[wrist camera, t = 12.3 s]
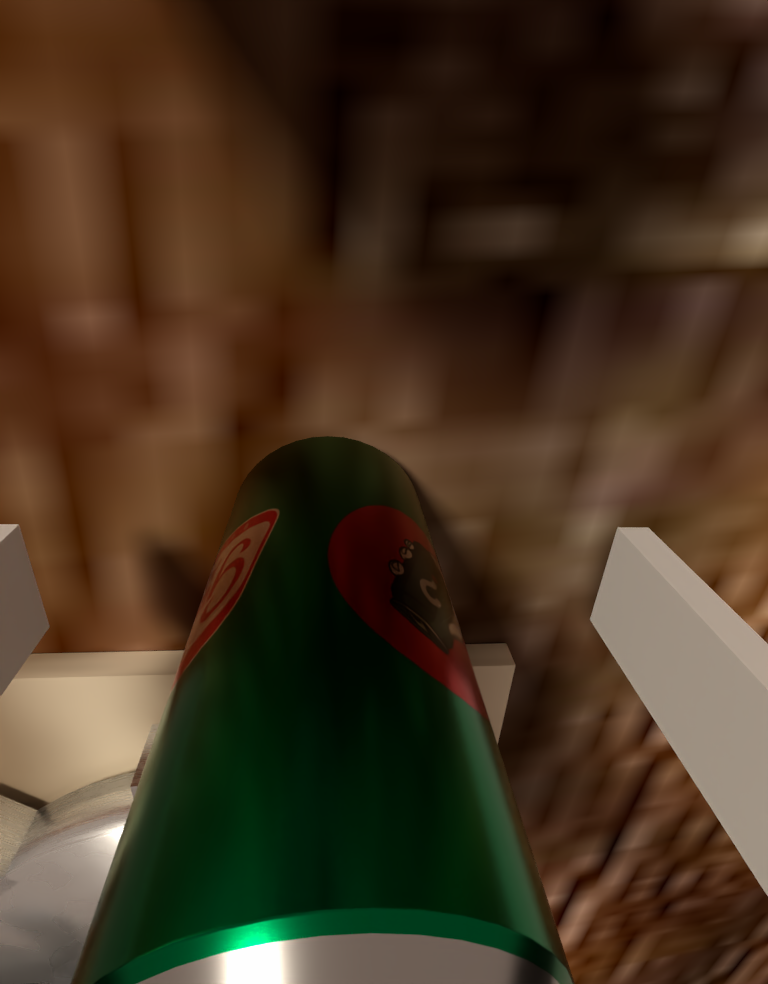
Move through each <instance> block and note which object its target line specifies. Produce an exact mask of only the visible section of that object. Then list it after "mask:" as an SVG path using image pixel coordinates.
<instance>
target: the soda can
mask: <svg viewBox="0 0 768 984" xmlns="http://www.w3.org/2000/svg"><path fill="white" fill-rule="evenodd" d="M70 984H574V981H573V977H572V974H571V971H570V968H569V965H568V962H567V959H566V956H565V953H564V949H563V946H562V943H561V940H560V937H559V934H558V931H557V928H556V925H555V921H554V918H553V915H552V912H551V909H550V906H549V903H548V900H547V897H546V893H545V890H544V887H543V884H542V881H541V878H540V875H539V872H538V869H537V866H536V862H535V859H534V856H533V853H532V850H531V847H530V844H529V841H528V838H527V834H526V831H525V828H524V825H523V822H522V819H521V816H520V813H519V810H518V806H517V803H516V800H515V797H514V794H513V791H512V788H511V785H510V782H509V778H508V775H507V772H506V769H505V766H504V763H503V760H502V757H501V754H500V751H499V747H498V744H497V741H496V738H495V735H494V732H493V729H492V726H491V723H490V719H489V716H488V713H487V710H486V707H485V704H484V701H483V698H482V695H481V691H480V688H479V685H478V682H477V679H476V676H475V673H474V670H473V667H472V663H471V660H470V657H469V654H468V651H467V648H466V645H465V642H464V639H463V635H462V632H461V629H460V626H459V623H458V620H457V617H456V614H455V611H454V608H453V604H452V601H451V598H450V595H449V592H448V589H447V586H446V583H445V580H444V576H443V573H442V570H441V567H440V564H439V561H438V558H437V555H436V552H435V548H434V545H433V542H432V539H431V536H430V533H429V530H428V527H427V524H426V520H425V517H424V514H423V511H422V508H421V505H420V502H419V499H418V496H417V493H416V491H415V488H414V486H413V484H412V482H411V481H410V479H409V477H408V476H407V474H406V473H405V472H404V471H403V469H402V468H401V467H400V466H399V465H398V464H397V463H396V462H395V461H394V460H393V459H391V458H390V457H389V456H388V455H386V454H385V453H383V452H381V451H380V450H378V449H376V448H375V447H373V446H370V445H368V444H365V443H363V442H360V441H356V440H352V439H348V438H343V437H329V436H326V437H313V438H308V439H303V440H299V441H295V442H293V443H290V444H288V445H285V446H282V447H281V448H279V449H277V450H275V451H274V452H272V453H270V454H269V455H267V456H266V457H265V458H264V459H263V460H261V461H260V462H259V463H258V464H257V465H256V466H255V467H254V468H253V469H252V471H251V472H250V473H249V474H248V475H247V477H246V479H245V480H244V482H243V484H242V485H241V487H240V490H239V493H238V495H237V498H236V501H235V504H234V507H233V510H232V512H231V515H230V518H229V521H228V524H227V527H226V530H225V533H224V536H223V539H222V542H221V545H220V548H219V550H218V553H217V556H216V559H215V562H214V565H213V568H212V571H211V574H210V577H209V580H208V583H207V585H206V588H205V591H204V594H203V597H202V600H201V603H200V606H199V609H198V612H197V615H196V618H195V621H194V623H193V626H192V629H191V632H190V635H189V638H188V641H187V644H186V647H185V650H184V653H183V656H182V658H181V661H180V664H179V667H178V670H177V673H176V676H175V679H174V682H173V685H172V688H171V691H170V694H169V696H168V699H167V702H166V705H165V708H164V711H163V714H162V717H161V720H160V723H159V726H158V729H157V731H156V734H155V737H154V740H153V743H152V746H151V749H150V752H149V755H148V758H147V761H146V764H145V767H144V769H143V772H142V775H141V778H140V781H139V784H138V787H137V790H136V793H135V796H134V799H133V802H132V804H131V807H130V810H129V813H128V816H127V819H126V822H125V825H124V828H123V831H122V834H121V837H120V840H119V842H118V845H117V848H116V851H115V854H114V857H113V860H112V863H111V866H110V869H109V872H108V875H107V878H106V880H105V883H104V886H103V889H102V892H101V895H100V898H99V901H98V904H97V907H96V910H95V913H94V915H93V918H92V921H91V924H90V927H89V930H88V933H87V936H86V939H85V942H84V945H83V948H82V951H81V953H80V956H79V959H78V962H77V965H76V968H75V971H74V974H73V977H72V980H71V983H70Z"/></svg>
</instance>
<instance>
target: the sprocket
mask: <svg viewBox="0 0 768 984" xmlns="http://www.w3.org/2000/svg"><path fill="white" fill-rule="evenodd" d="M158 726H159V724H152V726H151V729H150V732H149V735H148V738H147V740H146V743H145V746H144V749H143V752H142V754H141V757H140V760H139V763H138V766H137V768H136V771H135V772H132V773H127V774H123V775H119V776H116V777H113V778H109V779H106V780H102V781H99V782H96V783H93V784H90V785H88V786H85V787H83V788H80V789H78V790H76V791H73V792H71V793H68V794H66V795H64V796H62V797H60V798H58V799H56V800H55V801H53V802H51V803H49V804H47V805H46V806H44V807H42V808H40V809H39V810H36V809H33V808H31V807H28V806H26V805H23V804H21V803H19V802H16V801H14V800H11V799H9V798H6V797H4V796H2V795H0V984H70V983H71V980H72V977H73V974H74V971H75V968H76V965H77V962H78V959H79V956H80V953H81V951H82V948H83V945H84V942H85V939H86V936H87V933H88V930H89V927H90V924H91V921H92V918H93V915H94V913H95V910H96V907H97V904H98V901H99V898H100V895H101V892H102V889H103V886H104V883H105V880H106V878H107V875H108V872H109V869H110V866H111V863H112V860H113V857H114V854H115V851H116V848H117V845H118V842H119V840H120V837H121V834H122V831H123V828H124V825H125V822H126V819H127V816H128V813H129V810H130V807H131V804H132V802H133V799H134V796H135V793H136V790H137V787H138V784H139V781H140V778H141V775H142V772H143V769H144V767H145V764H146V761H147V758H148V755H149V752H150V749H151V746H152V743H153V740H154V737H155V734H156V731H157V729H158Z"/></svg>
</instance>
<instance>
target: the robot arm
mask: <svg viewBox="0 0 768 984" xmlns="http://www.w3.org/2000/svg"><path fill="white" fill-rule="evenodd" d="M590 621H591V622H592V624H593V625H594V627H595V628H596V630H597V631H598V633H599V635H600V636H601V638H602V639H603V641H604V642H605V644H606V645H607V647H608V649H609V650H610V652H611V653H612V655H613V656H614V658H615V660H616V661H617V663H618V664H619V666H620V667H621V669H622V670H623V672H624V674H625V675H626V677H627V678H628V680H629V681H630V683H631V684H632V686H633V688H634V689H635V691H636V692H637V694H638V695H639V697H640V698H641V700H642V702H643V703H644V705H645V706H646V708H647V709H648V711H649V712H650V714H651V716H652V717H653V719H654V720H655V722H656V723H657V725H658V726H659V728H660V730H661V731H662V733H663V734H664V736H665V737H666V739H667V740H668V742H669V744H670V745H671V747H672V748H673V750H674V751H675V753H676V754H677V756H678V758H679V759H680V761H681V762H682V764H683V765H684V767H685V768H686V770H687V772H688V773H689V775H690V776H691V778H692V779H693V781H694V782H695V784H696V786H697V787H698V789H699V790H700V792H701V793H702V795H703V797H704V798H705V800H706V801H707V803H708V804H709V806H710V807H711V809H712V811H713V812H714V814H715V815H716V817H717V818H718V820H719V821H720V823H721V825H722V826H723V828H724V829H725V831H726V832H727V834H728V835H729V837H730V839H731V840H732V842H733V843H734V845H735V846H736V848H737V849H738V851H739V853H740V854H741V856H742V857H743V859H744V860H745V862H746V863H747V865H748V867H749V868H750V870H751V871H752V873H753V874H754V876H755V877H756V879H757V881H758V882H759V884H760V885H761V887H762V888H763V890H764V891H765V893H766V895H767V896H768V644H767V643H766V642H765V641H764V640H763V639H762V638H761V637H760V636H759V635H758V634H757V633H756V632H755V631H754V630H753V629H752V628H751V627H750V626H749V625H748V624H747V623H746V622H745V621H744V620H743V619H742V618H741V617H740V616H739V615H737V614H736V613H735V612H734V611H733V610H732V609H731V608H730V607H729V606H728V605H727V604H726V603H725V602H724V601H723V600H722V599H721V598H720V597H719V596H718V595H717V594H716V593H715V592H714V591H713V590H712V589H711V588H710V587H709V586H708V585H707V584H706V583H705V582H704V581H703V580H702V579H701V578H700V577H699V576H697V575H696V574H695V573H694V572H693V571H692V570H691V569H690V568H689V567H688V566H687V565H686V564H685V563H684V562H683V561H682V560H681V559H680V558H679V557H678V556H677V555H676V554H675V553H674V552H673V551H672V550H671V549H670V548H669V547H668V546H667V545H666V544H665V543H664V542H663V541H662V540H661V539H660V538H659V537H657V536H656V535H655V534H654V533H653V532H652V531H651V530H650V529H649V528H617V531H616V534H615V538H614V541H613V544H612V548H611V551H610V554H609V558H608V561H607V564H606V568H605V571H604V574H603V578H602V581H601V584H600V588H599V591H598V594H597V598H596V601H595V604H594V608H593V611H592V614H591V618H590ZM48 628H49V623H48V620H47V617H46V613H45V610H44V607H43V603H42V600H41V597H40V593H39V590H38V587H37V583H36V580H35V576H34V573H33V570H32V566H31V563H30V560H29V556H28V553H27V550H26V546H25V543H24V540H23V536H22V533H21V530H20V526H19V524H0V697H1V695H2V694H3V693H4V691H5V690H6V688H7V687H8V685H9V684H10V683H11V681H12V680H13V678H14V677H15V675H16V674H17V673H18V671H19V670H20V668H21V667H22V665H23V664H24V663H25V661H26V660H27V658H28V657H29V655H30V654H31V653H32V651H33V650H34V648H35V647H36V645H37V644H38V643H39V641H40V640H41V638H42V637H43V635H44V634H45V633H46V631H47V630H48Z"/></svg>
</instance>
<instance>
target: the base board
mask: <svg viewBox="0 0 768 984" xmlns="http://www.w3.org/2000/svg"><path fill="white" fill-rule="evenodd" d="M465 645H466V648H467V651H468V654H469V657H470V660H471V663H472V667H473V670H474V673H475V676H476V679H477V682H478V685H479V688H480V691H481V695H482V698H483V701H484V704H485V707H486V710H487V713H488V716H489V719H490V723H491V726H492V729H493V732H494V735H495V738H496V741H497V744H498V741H499V736H500V732H501V728H502V723H503V719H504V714H505V710H506V706H507V701H508V697H509V692H510V688H511V683H512V679H513V675H514V670H515V666H516V665H515V663H514V660H513V658H512V656H511V653H510V651H509V648H508V646H507V644H506V643H495V644H465ZM183 653H184V650H179V651H134V652H89V653H44V654H30V655H29V657H28V658H27V660H26V661H25V663H24V664H23V665H22V667H21V668H20V670H19V671H18V673H17V674H16V675H15V677H14V678H13V680H12V681H11V683H10V684H9V685H8V687H7V688H6V690H5V691H4V693H3V694H2V695H1V697H0V795H2V796H4V797H6V798H9V799H11V800H14V801H16V802H19V803H21V804H23V805H26V806H28V807H31V808H33V809H36V810H39V809H40V808H42V807H44V806H46V805H47V804H49V803H51V802H53V801H55V800H56V799H58V798H60V797H62V796H64V795H66V794H68V793H71V792H73V791H76V790H78V789H80V788H83V787H85V786H88V785H90V784H93V783H96V782H99V781H102V780H106V779H109V778H113V777H116V776H119V775H123V774H127V773H132V772H135V771H136V768H137V766H138V763H139V760H140V757H141V754H142V752H143V749H144V746H145V743H146V740H147V738H148V735H149V732H150V729H151V726H152V724H159V723H160V720H161V717H162V714H163V711H164V708H165V705H166V702H167V699H168V696H169V694H170V691H171V688H172V685H173V682H174V679H175V676H176V673H177V670H178V667H179V664H180V661H181V658H182V656H183Z"/></svg>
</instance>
